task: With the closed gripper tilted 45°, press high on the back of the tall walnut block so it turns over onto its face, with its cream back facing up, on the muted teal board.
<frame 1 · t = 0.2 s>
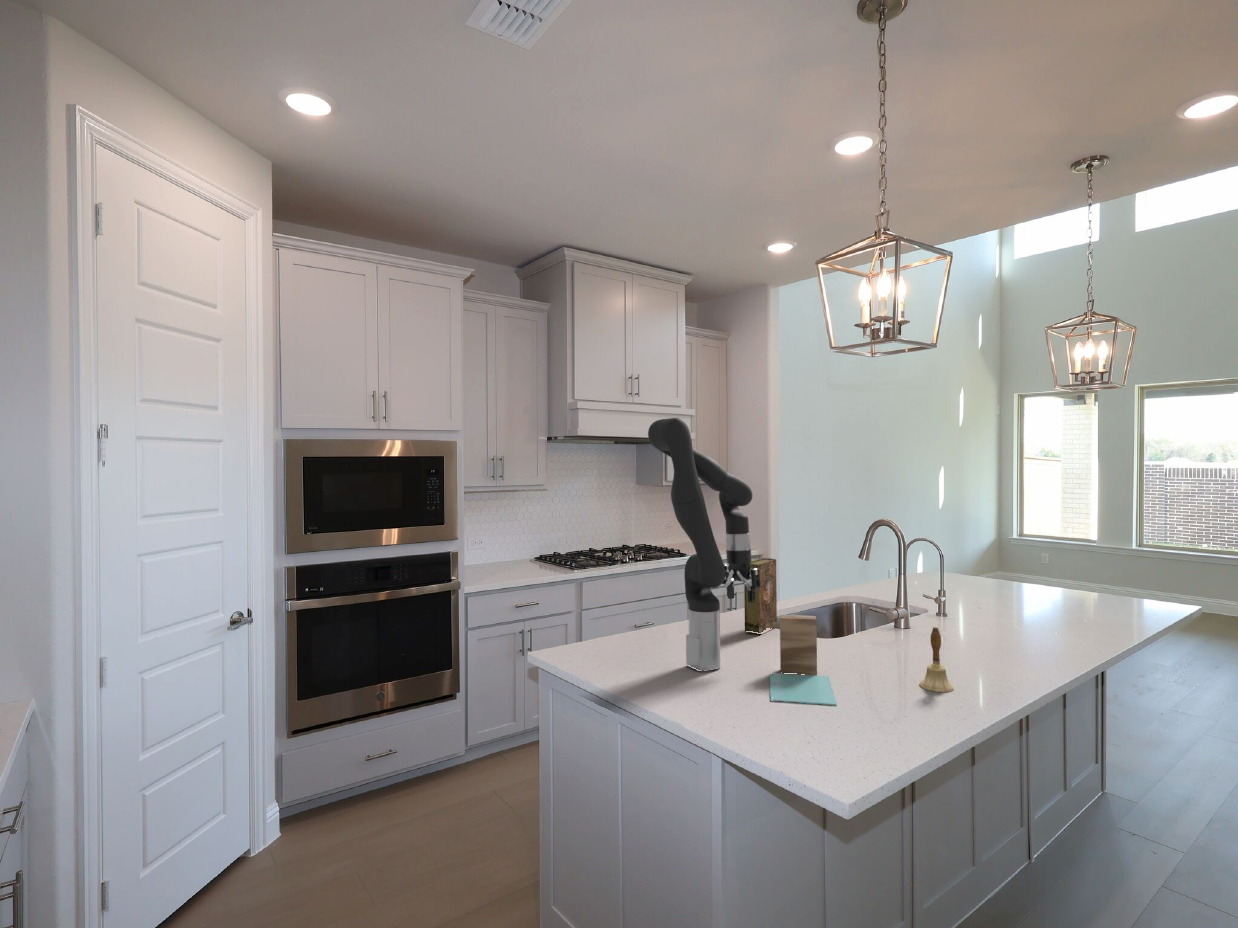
hand: (741, 600, 201), 18 cm above the worktop, tool pointing down, fingers open, 8 cm apart
book: (761, 630, 237), on the worktop
block: (798, 672, 188), on the worktop
mat: (800, 688, 174), on the worktop
hand bell: (936, 687, 175), on the worktop
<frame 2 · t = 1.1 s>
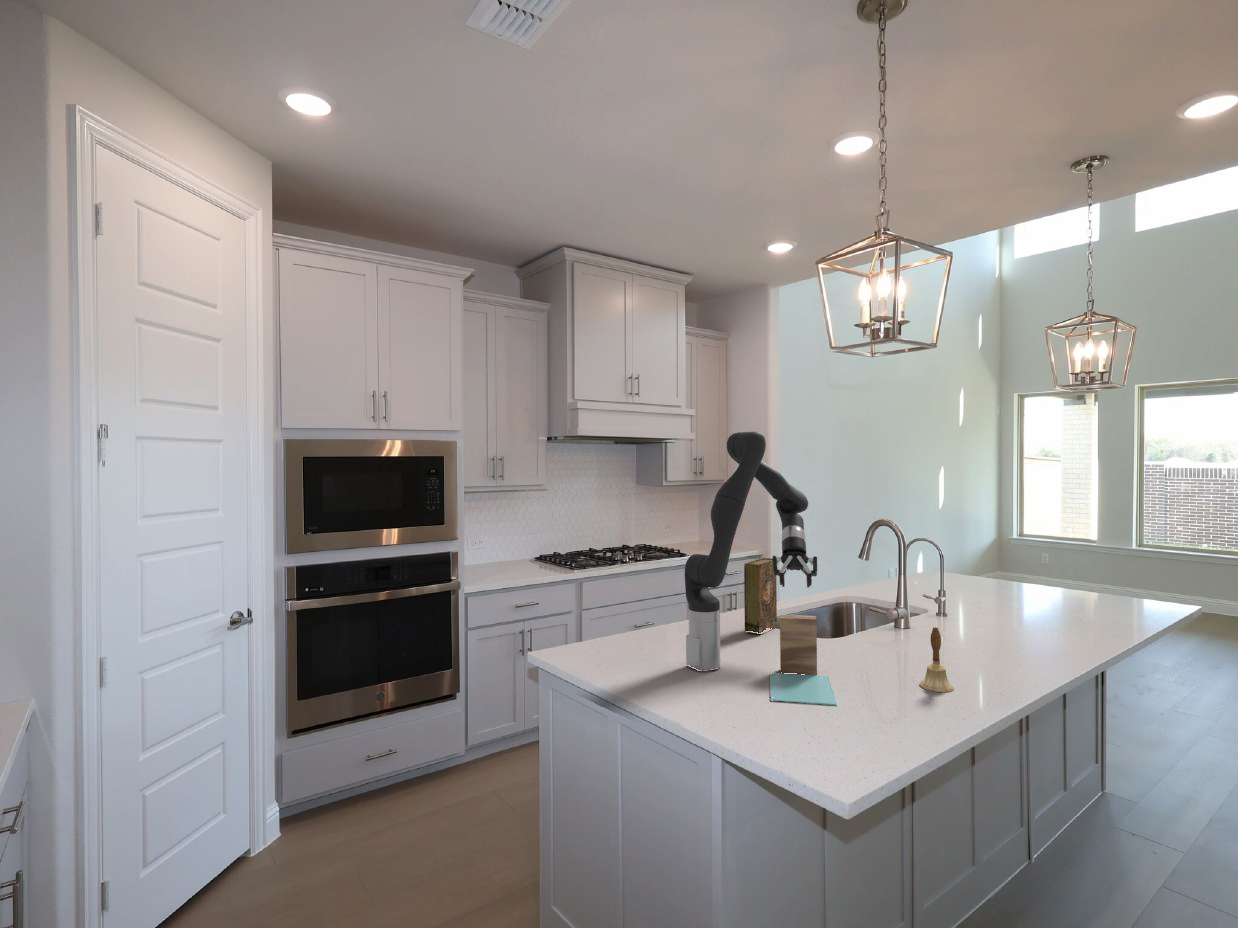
hand: (795, 585, 200), 23 cm above the worktop, tool tilted 45°, fingers open, 7 cm apart
nothing on the worktop moved.
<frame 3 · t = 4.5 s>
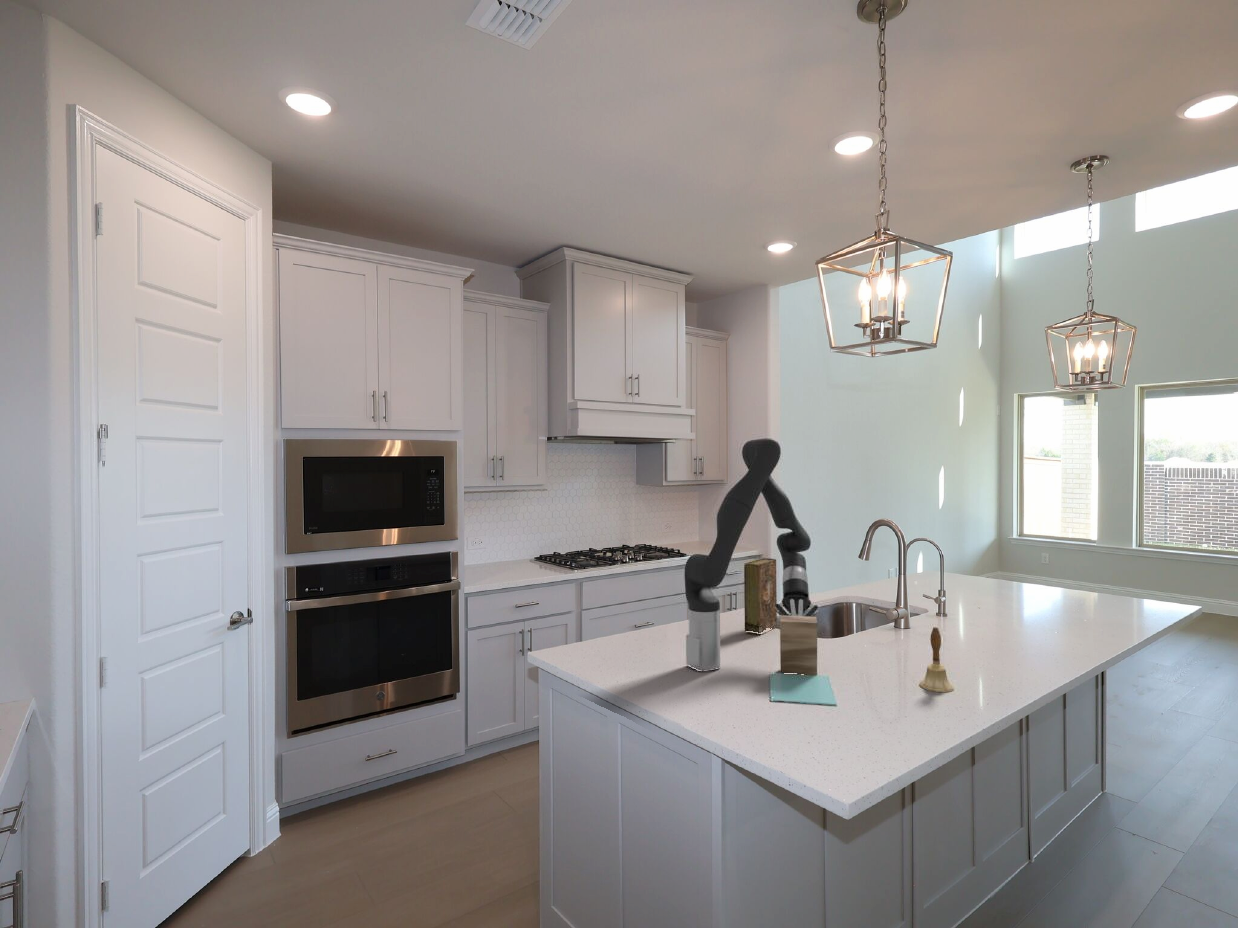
hand: (797, 634, 188), 11 cm above the worktop, tool tilted 45°, fingers closed
block: (798, 671, 188), on the worktop, tilted 11°
everything else where it was.
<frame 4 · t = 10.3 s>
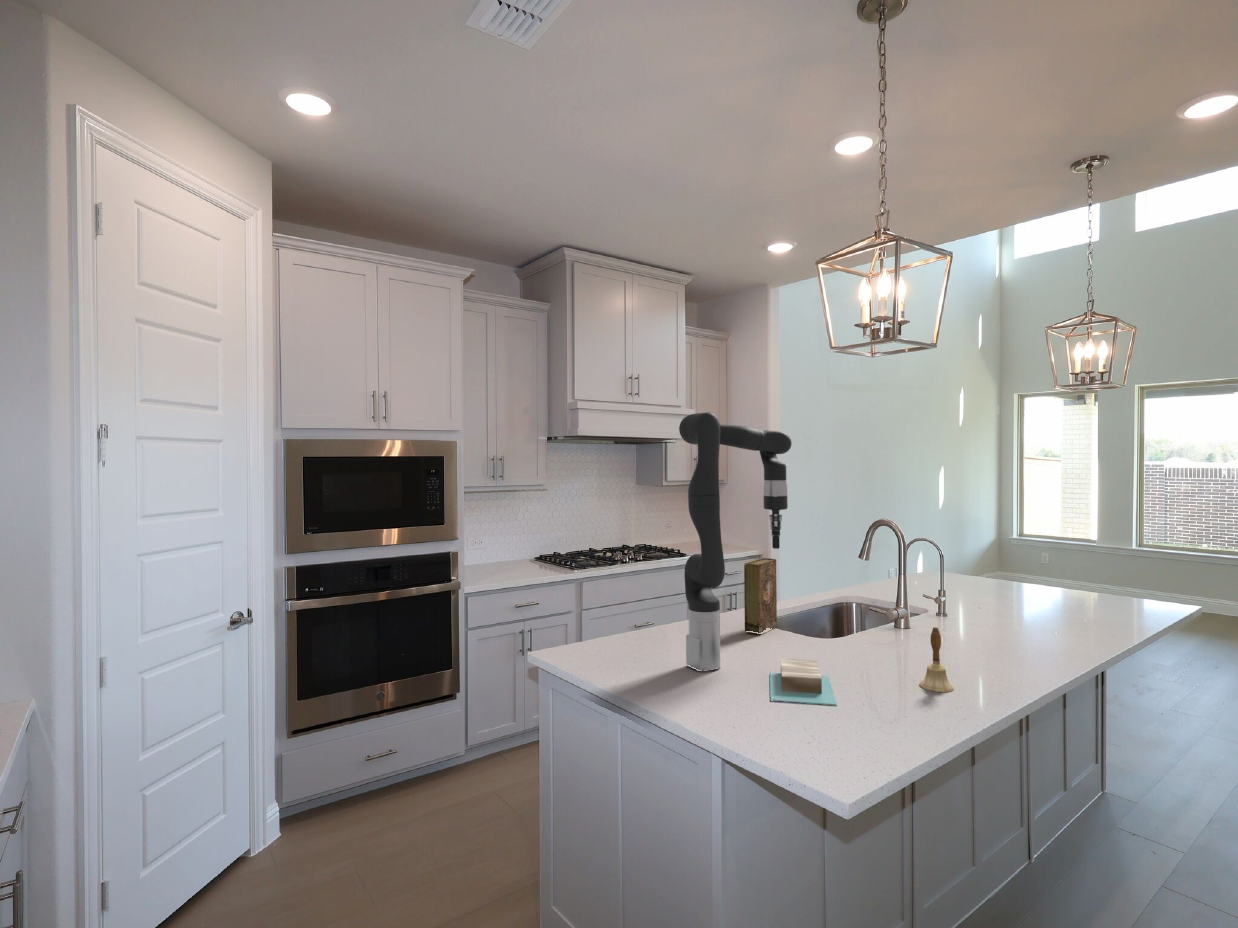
hand: (775, 548, 210), 33 cm above the worktop, tool pointing down, fingers closed
block: (798, 666, 186), point 2 cm above the worktop, tilted 90°, touching mat
everything else where it was.
at the end: block tilted 90°; block touching mat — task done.
